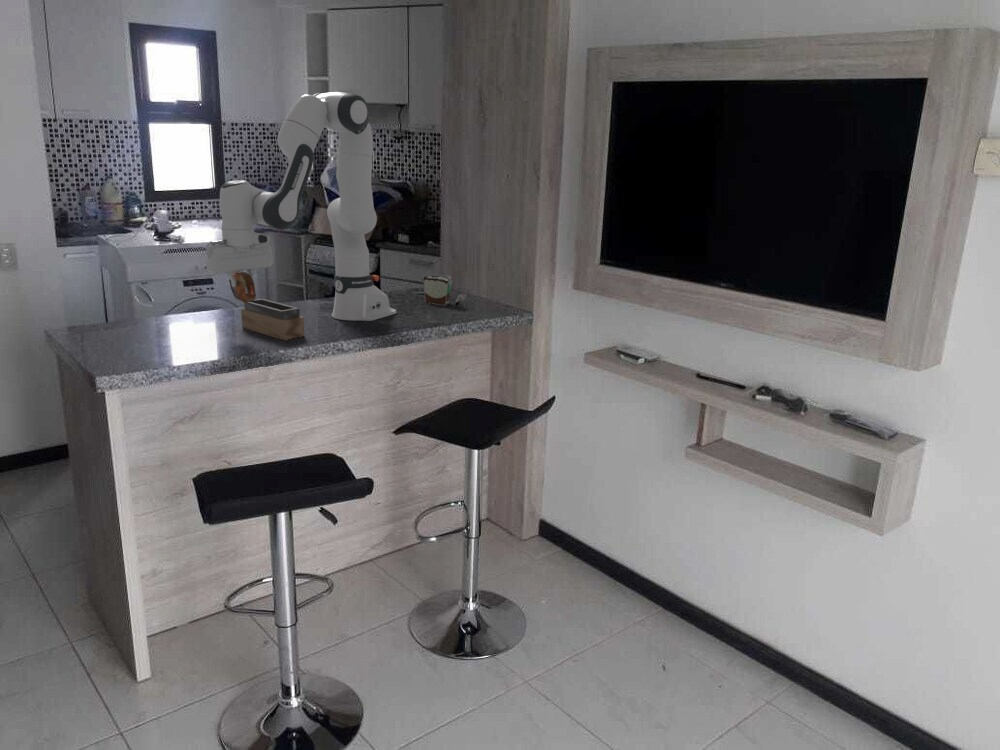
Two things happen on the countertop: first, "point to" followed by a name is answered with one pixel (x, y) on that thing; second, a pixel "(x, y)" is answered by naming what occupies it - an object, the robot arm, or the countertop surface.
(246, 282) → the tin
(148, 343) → the countertop surface
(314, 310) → the countertop surface
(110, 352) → the countertop surface
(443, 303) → the food container
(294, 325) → the open rectangular box
